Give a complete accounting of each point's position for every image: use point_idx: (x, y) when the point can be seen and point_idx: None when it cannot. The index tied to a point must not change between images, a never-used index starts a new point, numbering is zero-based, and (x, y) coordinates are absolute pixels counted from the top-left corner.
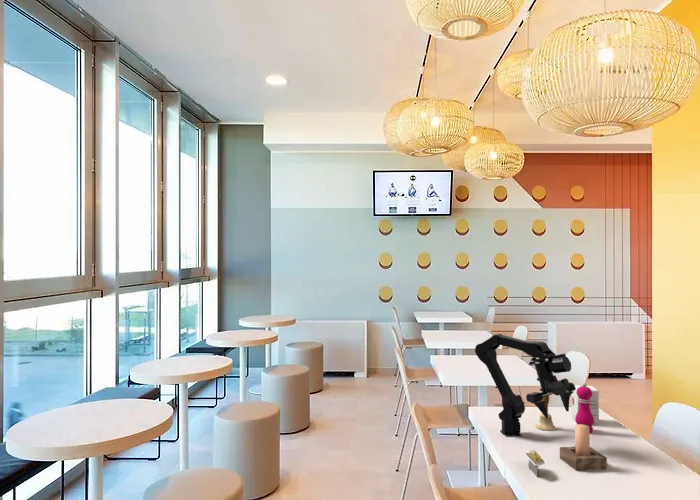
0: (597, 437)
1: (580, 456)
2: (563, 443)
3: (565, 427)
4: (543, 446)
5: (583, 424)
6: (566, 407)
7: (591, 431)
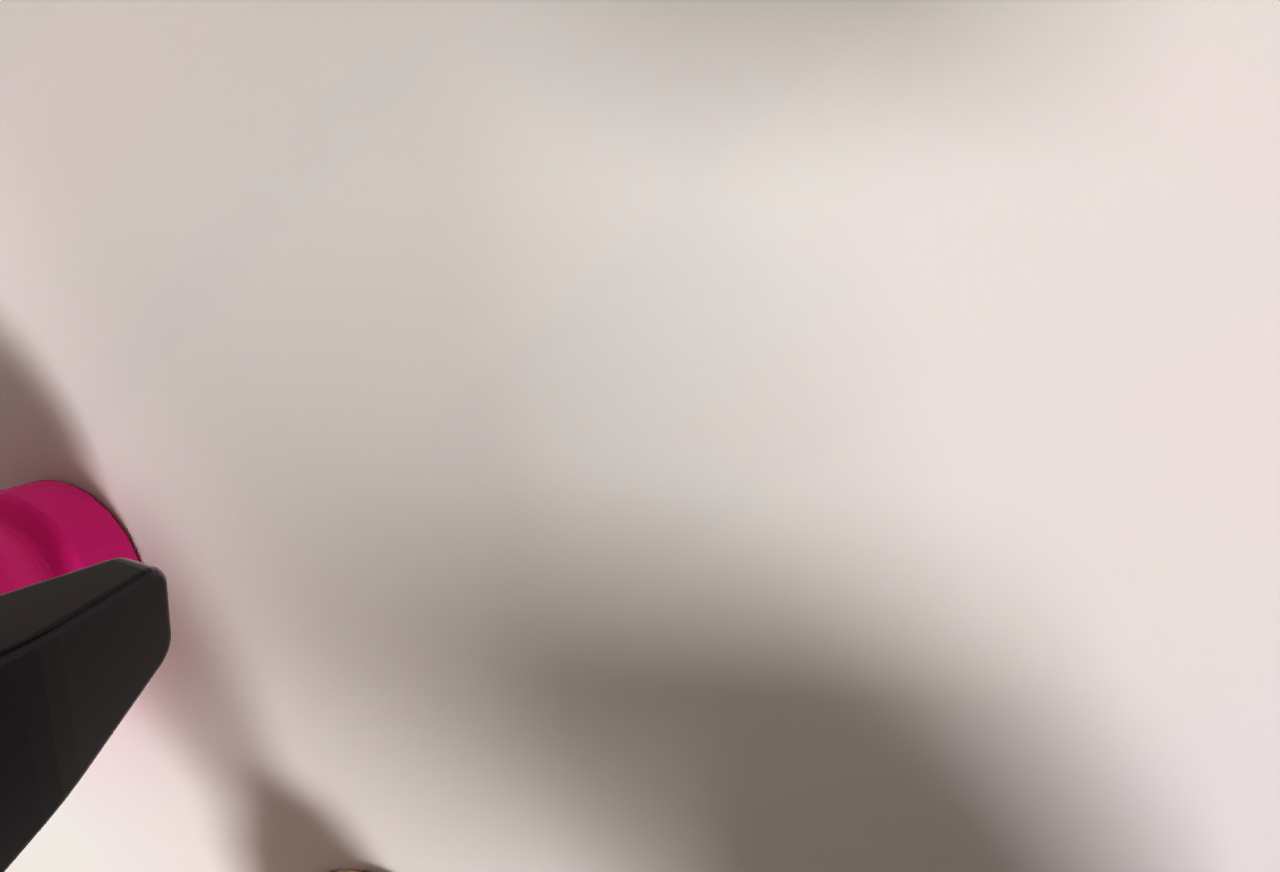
0: (93, 328)
1: None
2: (706, 453)
3: (178, 820)
4: (1223, 584)
5: (15, 583)
6: (38, 685)
7: (35, 484)
